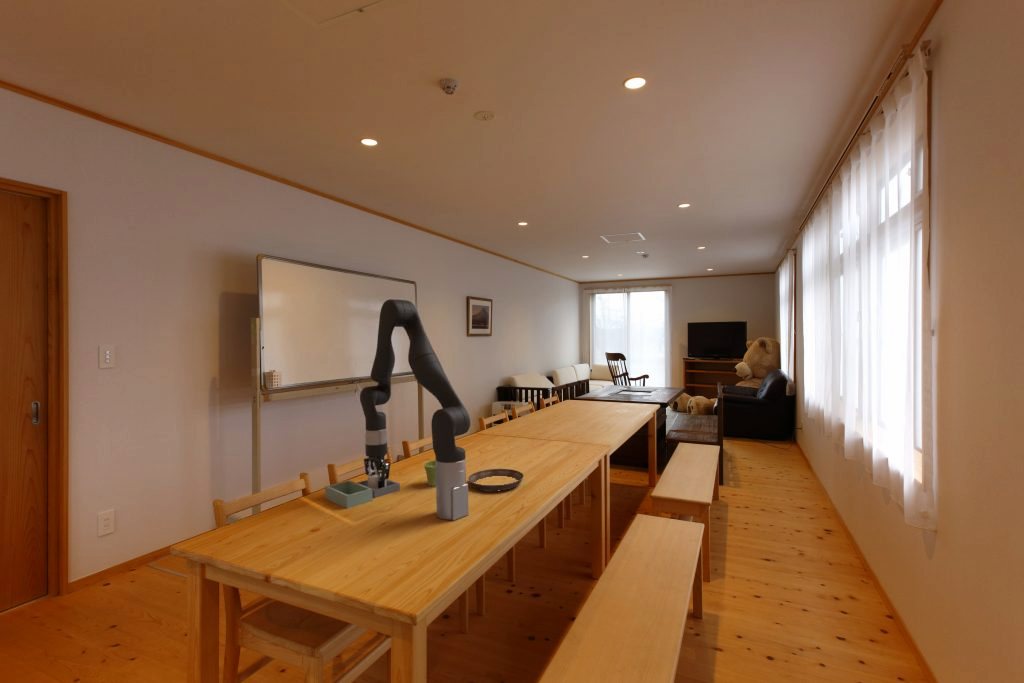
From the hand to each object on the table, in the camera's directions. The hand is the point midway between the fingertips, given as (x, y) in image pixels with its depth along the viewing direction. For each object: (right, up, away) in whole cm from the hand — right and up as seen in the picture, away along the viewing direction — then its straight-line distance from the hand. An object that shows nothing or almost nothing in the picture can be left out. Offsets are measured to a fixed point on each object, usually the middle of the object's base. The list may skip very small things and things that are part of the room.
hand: (377, 489), depth 167 cm
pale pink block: (0, 0, 0) cm, 0 cm away
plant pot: (+20, -1, +6) cm, 21 cm away
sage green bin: (-7, -2, -9) cm, 12 cm away
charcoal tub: (0, -1, 0) cm, 1 cm away
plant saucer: (+42, -1, +8) cm, 43 cm away
